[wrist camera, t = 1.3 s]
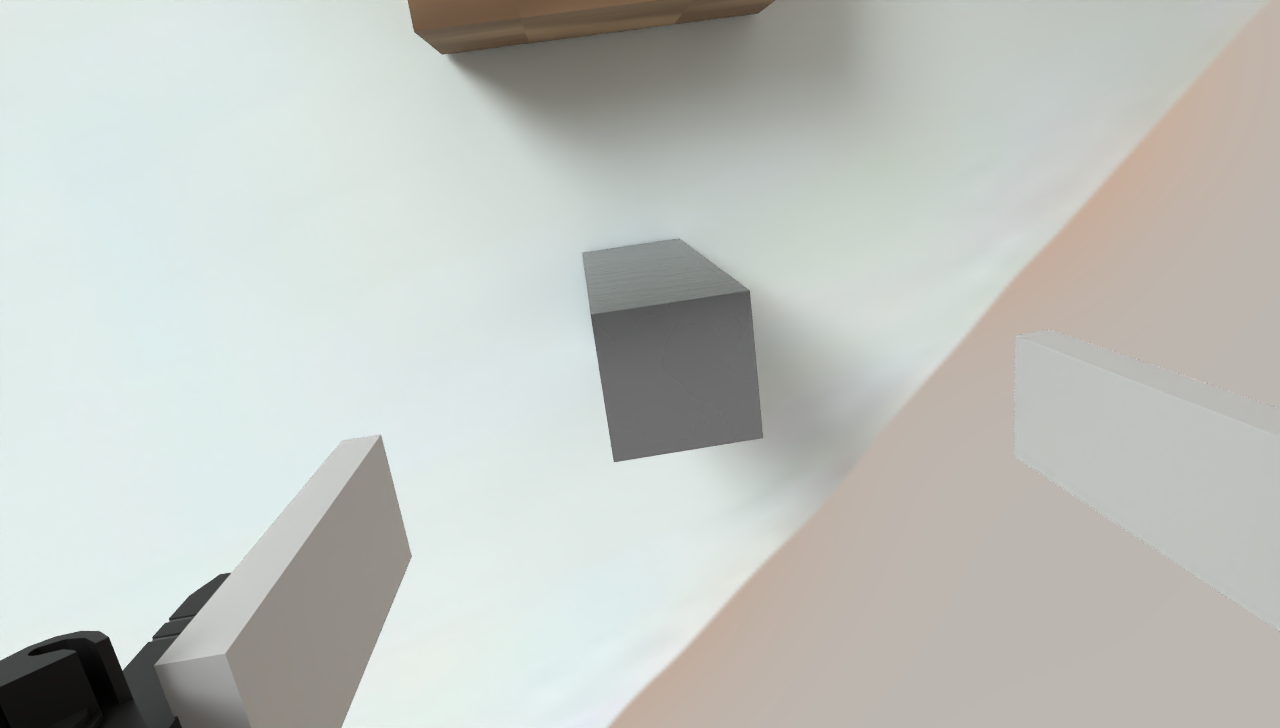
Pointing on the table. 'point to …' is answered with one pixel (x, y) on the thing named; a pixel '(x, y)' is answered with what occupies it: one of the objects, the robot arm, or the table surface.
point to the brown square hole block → (554, 19)
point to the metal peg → (672, 350)
